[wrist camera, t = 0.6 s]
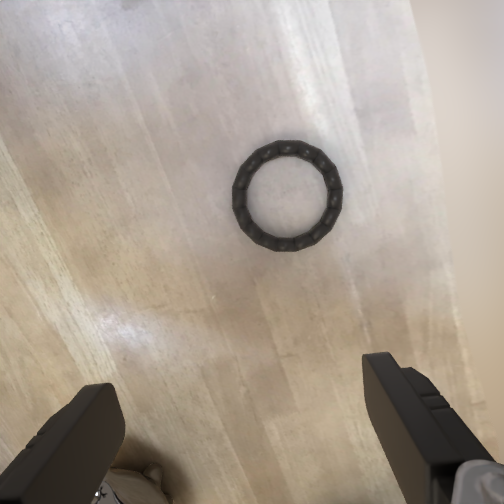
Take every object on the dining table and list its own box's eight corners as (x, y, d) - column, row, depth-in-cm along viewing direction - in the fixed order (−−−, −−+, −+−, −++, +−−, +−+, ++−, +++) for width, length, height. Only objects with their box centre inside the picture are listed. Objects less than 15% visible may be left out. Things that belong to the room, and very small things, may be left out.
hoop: (216, 167, 26) (213, 167, 24) (319, 122, 24) (322, 120, 23) (256, 264, 27) (256, 268, 26) (354, 227, 26) (358, 229, 25)
